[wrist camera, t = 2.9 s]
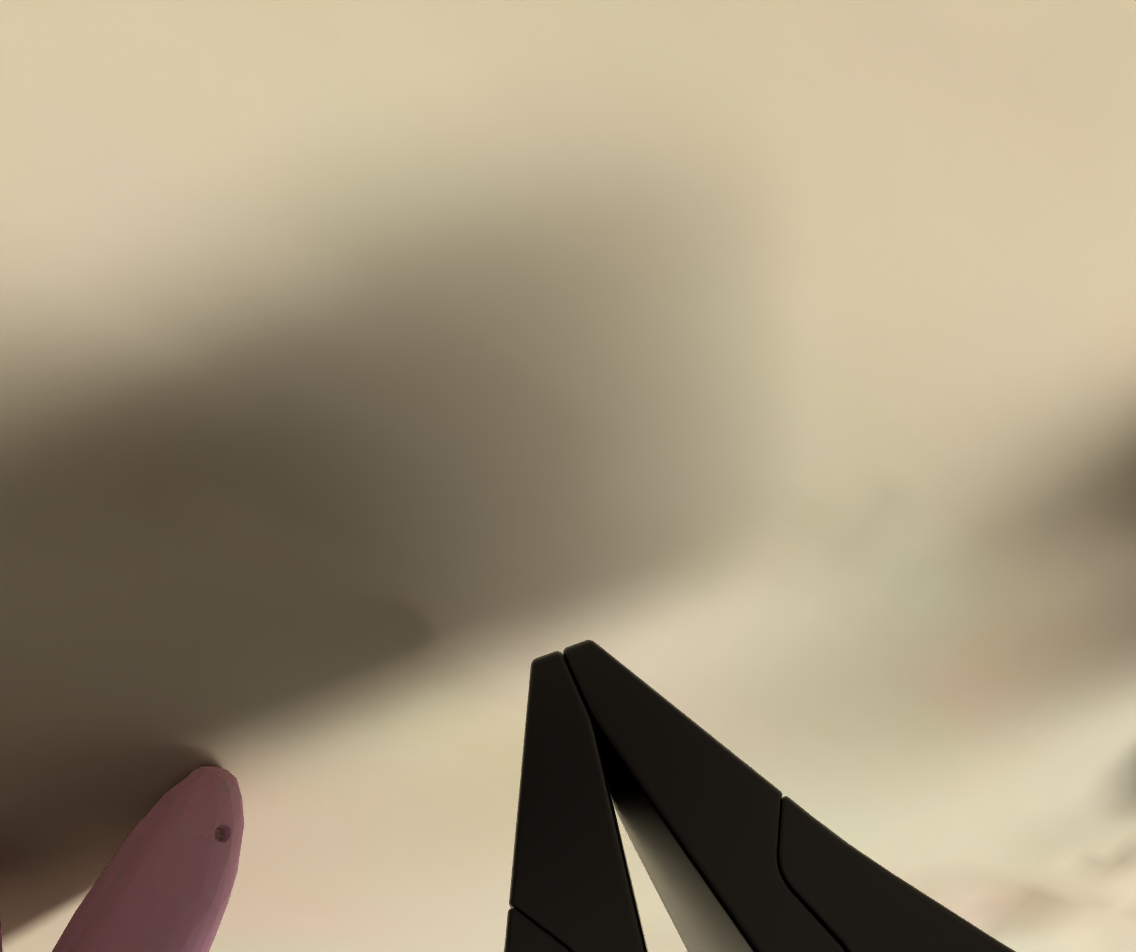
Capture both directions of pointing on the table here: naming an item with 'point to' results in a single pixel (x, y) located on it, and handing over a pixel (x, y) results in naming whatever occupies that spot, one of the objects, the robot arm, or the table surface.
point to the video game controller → (166, 874)
